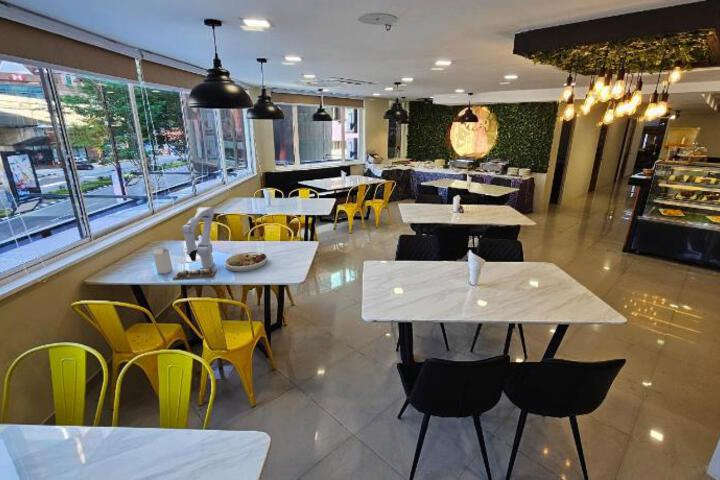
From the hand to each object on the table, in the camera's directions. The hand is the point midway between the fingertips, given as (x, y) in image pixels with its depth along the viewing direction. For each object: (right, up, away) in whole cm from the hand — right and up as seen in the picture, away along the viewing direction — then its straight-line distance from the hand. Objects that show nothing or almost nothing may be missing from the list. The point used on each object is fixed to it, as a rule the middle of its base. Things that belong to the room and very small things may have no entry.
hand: (193, 260), depth 244 cm
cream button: (+1, -9, 0) cm, 9 cm away
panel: (+1, -10, +2) cm, 10 cm away
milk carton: (-25, -9, +10) cm, 29 cm away
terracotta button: (+9, -8, +1) cm, 12 cm away
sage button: (-7, -9, 0) cm, 12 cm away
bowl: (+31, -5, +18) cm, 36 cm away
